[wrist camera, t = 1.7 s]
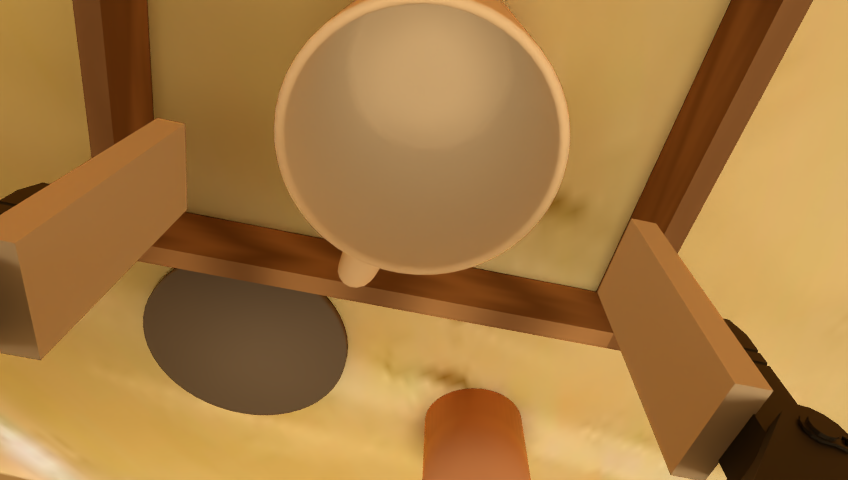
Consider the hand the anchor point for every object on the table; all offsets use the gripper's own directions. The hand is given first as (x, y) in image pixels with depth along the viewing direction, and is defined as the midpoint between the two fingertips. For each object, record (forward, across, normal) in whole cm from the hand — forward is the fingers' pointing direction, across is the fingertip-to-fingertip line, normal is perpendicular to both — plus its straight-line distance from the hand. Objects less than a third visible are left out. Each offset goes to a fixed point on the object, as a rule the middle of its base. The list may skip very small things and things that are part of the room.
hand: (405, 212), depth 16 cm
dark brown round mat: (+10, -8, -16) cm, 20 cm away
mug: (+11, 0, 0) cm, 11 cm away
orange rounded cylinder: (+11, +8, -20) cm, 24 cm away
